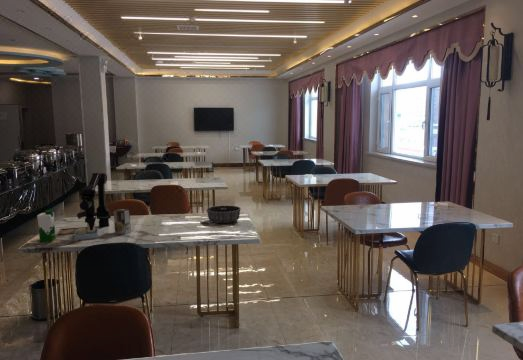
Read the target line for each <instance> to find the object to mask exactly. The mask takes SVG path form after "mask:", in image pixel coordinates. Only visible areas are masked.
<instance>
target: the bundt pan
mask: <svg viewBox="0 0 523 360" xmlns="http://www.w3.org/2000/svg"><path fill="white" fill-rule="evenodd" d="M241 210H242V209H241V207H239V206H236V205H215V206H209V207H208V208H207V207H206V210H205V211H206V213H207V218H208V220H209V221H211V222H212V223H216V224H228V223H229V224H230V223H234V222H237V221H238V220H239V218H240V213H241Z"/></svg>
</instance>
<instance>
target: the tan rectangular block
mask: <svg viewBox="0 0 523 360" xmlns="http://www.w3.org/2000/svg"><path fill="white" fill-rule="evenodd" d="M83 227H84V228H78V227H77V228H78V235H81V234H86V227H87V226H83Z"/></svg>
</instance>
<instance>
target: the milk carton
mask: <svg viewBox="0 0 523 360" xmlns="http://www.w3.org/2000/svg"><path fill="white" fill-rule="evenodd" d="M36 217H37V222H38V223H37V224H38V225H37V226H38V236H39V242H40V243H52V242H54V240H56V230H55V229H56V227H55V226H56V225H55V212H53V210H52V209H47V210H45V212H41V213H38V214H37V215H36Z"/></svg>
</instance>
